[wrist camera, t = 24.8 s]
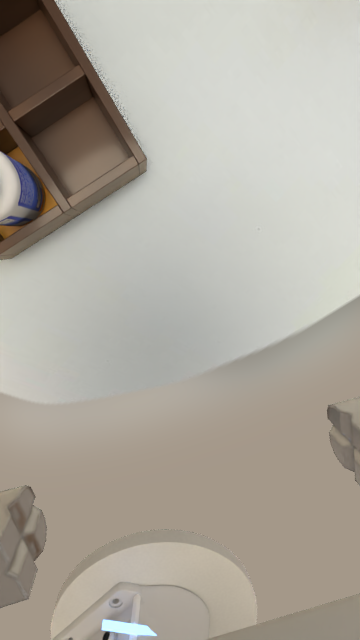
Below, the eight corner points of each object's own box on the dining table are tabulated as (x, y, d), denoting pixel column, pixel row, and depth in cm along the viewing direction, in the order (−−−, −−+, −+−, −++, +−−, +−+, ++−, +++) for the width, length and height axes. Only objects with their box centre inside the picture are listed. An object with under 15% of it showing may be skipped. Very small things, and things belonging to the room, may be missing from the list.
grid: (11, 258, 32) (-11, 261, 27) (-107, 101, 28) (-155, 74, 23) (146, 171, 31) (147, 159, 27) (45, -2, 27) (25, -49, 23)
